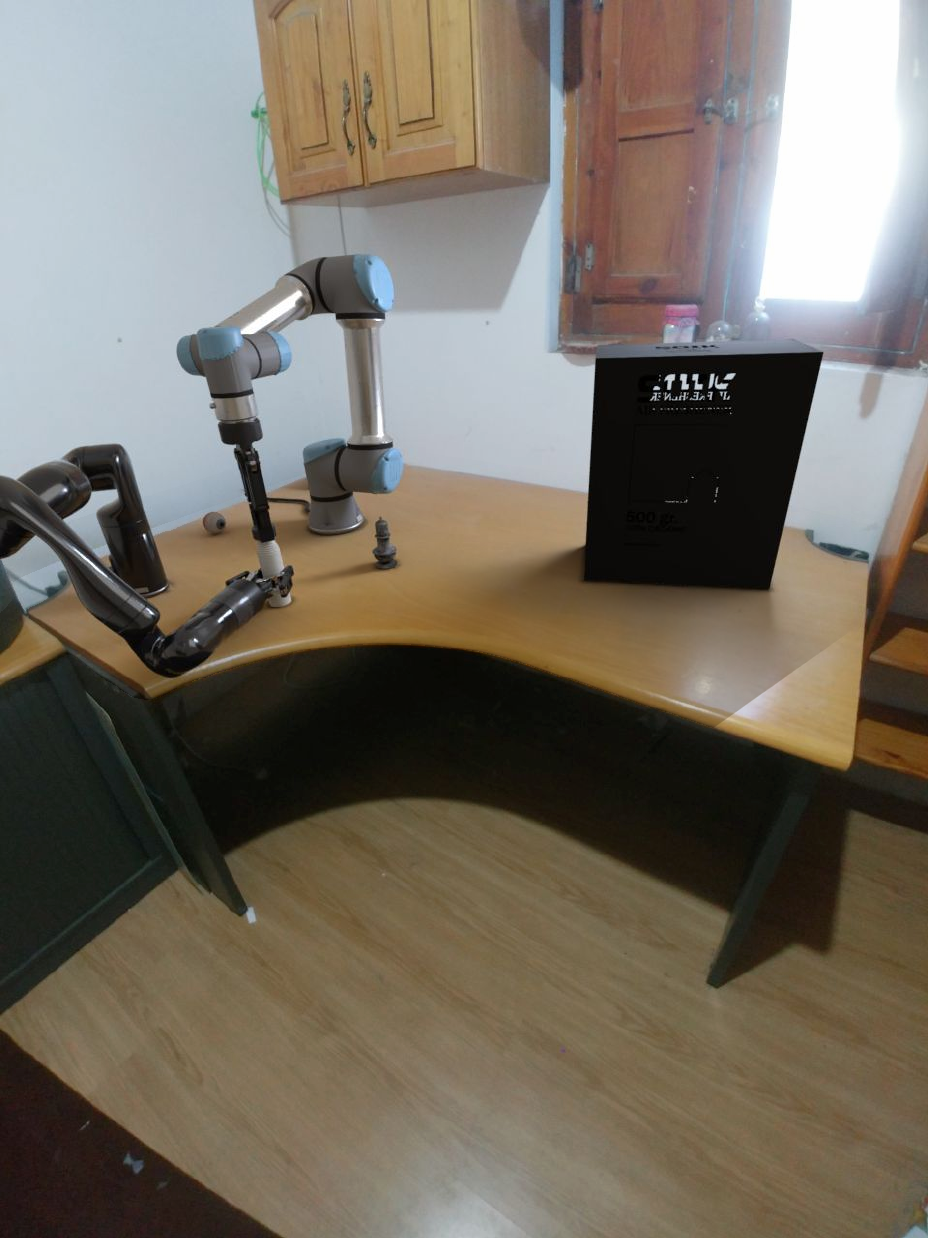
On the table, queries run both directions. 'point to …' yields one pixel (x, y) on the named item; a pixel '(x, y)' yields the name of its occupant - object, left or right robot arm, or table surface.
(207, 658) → the left robot arm
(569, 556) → the table surface
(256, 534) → the cap
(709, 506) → the cardboard box
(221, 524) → the eyeball
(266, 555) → the bottle
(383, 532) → the grey tall turned piece
